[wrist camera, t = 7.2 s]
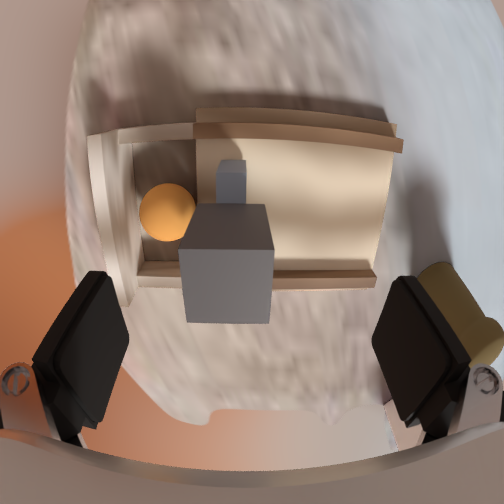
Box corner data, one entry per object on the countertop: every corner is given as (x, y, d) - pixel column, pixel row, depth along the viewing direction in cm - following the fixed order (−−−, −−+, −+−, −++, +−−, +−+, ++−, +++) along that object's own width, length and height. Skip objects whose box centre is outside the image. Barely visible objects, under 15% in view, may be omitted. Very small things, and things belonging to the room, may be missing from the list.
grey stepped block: (206, 159, 18) (174, 205, 10) (261, 160, 18) (277, 206, 10) (208, 254, 21) (191, 348, 13) (257, 255, 22) (266, 349, 13)
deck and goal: (118, 115, 18) (85, 119, 13) (389, 123, 18) (425, 130, 14) (137, 280, 24) (119, 316, 20) (362, 281, 25) (382, 316, 21)
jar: (399, 417, 39) (418, 472, 28) (372, 412, 37) (392, 476, 26) (438, 386, 36) (465, 443, 25) (416, 378, 33) (446, 444, 23)
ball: (183, 193, 16) (202, 177, 20) (125, 192, 17) (152, 177, 20) (187, 253, 18) (204, 229, 22) (133, 249, 19) (156, 226, 22)
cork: (433, 253, 24) (500, 325, 14) (463, 272, 25) (521, 337, 15) (399, 302, 26) (449, 383, 17) (432, 315, 28) (478, 386, 18)
